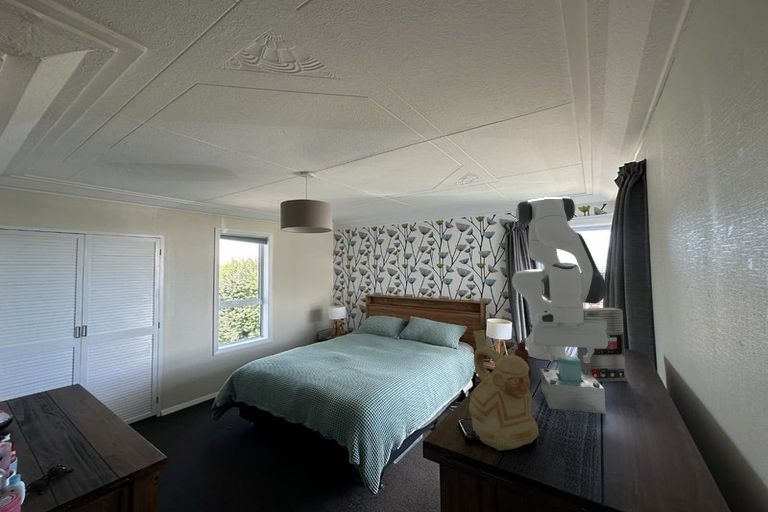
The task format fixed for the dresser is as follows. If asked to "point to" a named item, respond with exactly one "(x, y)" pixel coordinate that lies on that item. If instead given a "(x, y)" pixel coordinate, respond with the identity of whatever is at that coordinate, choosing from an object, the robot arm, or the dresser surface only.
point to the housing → (573, 392)
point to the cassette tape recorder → (607, 348)
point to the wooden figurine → (523, 355)
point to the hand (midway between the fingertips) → (569, 361)
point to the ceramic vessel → (502, 399)
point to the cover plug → (569, 369)
